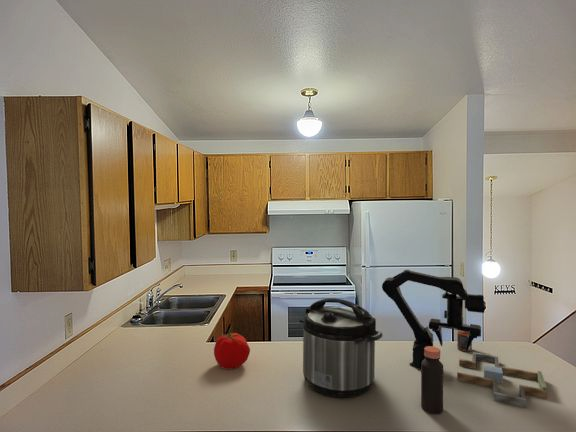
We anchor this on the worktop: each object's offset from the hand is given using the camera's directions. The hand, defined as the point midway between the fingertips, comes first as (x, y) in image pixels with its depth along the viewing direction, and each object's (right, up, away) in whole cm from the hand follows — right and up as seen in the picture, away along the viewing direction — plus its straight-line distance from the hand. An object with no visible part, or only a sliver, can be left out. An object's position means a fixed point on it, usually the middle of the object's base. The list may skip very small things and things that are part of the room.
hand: (454, 348), depth 143 cm
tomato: (-90, -10, +7) cm, 91 cm away
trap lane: (+14, -10, -7) cm, 18 cm away
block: (+12, -10, -6) cm, 17 cm away
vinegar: (-19, -11, -25) cm, 33 cm away
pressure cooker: (-47, -11, -6) cm, 48 cm away
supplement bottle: (+14, -9, +21) cm, 27 cm away
